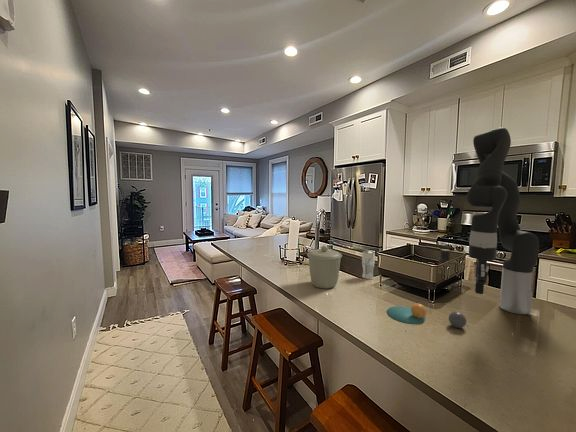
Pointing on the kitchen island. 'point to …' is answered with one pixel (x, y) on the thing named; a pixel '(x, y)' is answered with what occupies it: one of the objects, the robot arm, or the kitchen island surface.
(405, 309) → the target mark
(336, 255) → the canister
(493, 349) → the kitchen island surface
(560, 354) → the kitchen island surface
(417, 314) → the object ball
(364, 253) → the beer glass
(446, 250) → the sauce bottle
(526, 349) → the kitchen island surface
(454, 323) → the blue-grey ball
